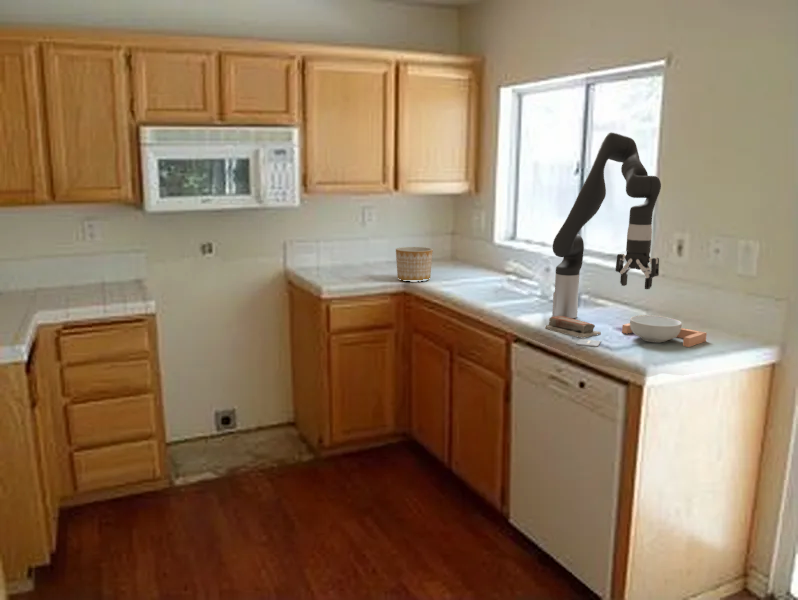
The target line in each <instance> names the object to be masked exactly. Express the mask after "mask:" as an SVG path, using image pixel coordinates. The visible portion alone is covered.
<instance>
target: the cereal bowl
mask: <svg viewBox="0 0 798 600" xmlns="http://www.w3.org/2000/svg"><path fill="white" fill-rule="evenodd" d="M629 323H630V327H631V330H632V331H633V332H632V333H633V334H634V335H635V336H637V337H638V338H639V337H640V338H641V339H642V340H643V341H644V342H648V343H658V344H659V343H665V342H667V341H669V340H673V339H675V338H678V337H677V336H678V334H679V333H680V331H681V328H682V325H683V324H682V321H680V320H678V319H675V318H672V317H667V316H660V315H652V314H651V315H650V314H649V315H647V314H643V315H639V314H638V315H634V316H631V317H630V318H629Z"/></svg>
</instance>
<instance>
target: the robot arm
mask: <svg viewBox="0 0 798 600" xmlns="http://www.w3.org/2000/svg"><path fill="white" fill-rule="evenodd" d="M608 160H610V161H614V162H616V163H621V168H620V170H621V175H622V176H623V178H624V180H625V183H626V184H625V192H626V193H625V194H626V195H627V196H628V197H630V198H633V199H645V200H644V201H643V203H641V204H637V205H633V206H631V207H630V209H629V218H628V227H627V235H626V247H625V252H626V254H624V253H618V254H617V256H616V263H615V272H617V273H619V274H620V281H619V283H620V284H621V286H623V287H625V286H627V285H628V273H629V271H631V270H635V269H636V270H637V271H639V270H640V271H641V272H642V273H643V274H644V277H645V280H644V290H650V289H651V288H652V285H653V278H654V277H658V276H659V274H660V271H659V270H660V258H659V257H651V256H650V254H651V250H652V249H651V248H652V237H653V227H652V226H653V213H654V209H655V206H656V202H657V199H658V197H659V195H660V192H661V189H662V182H661V180H660V178H659V177H658V176H657V175H649V173H648V171H647V169H646V168H645V166H644V165H643V163H642V162H641V159H640V154H639V150H638V147H637V144H636V141H635V140H634V139H633V138H632V137H629V136H626V135H623V134H620V133H617V132H613V131H612V132H611V131H610V132H608V133H607V134H606V135H605V137H604V138H603V140H602V142H601V144H600V147H599V149H598V152H597V154H596V156H595V159H594V162H593V164H592V167H591V169H590V171H589V172H588V175H587V177H586V179H585V181H584V183H583V184H582V187H581V188H580V191H579V193H578V195H577V197H576V199H575V201H574V204H573V206H572V207H571V209H570V211H569V213H568V216H567V217H566V219H565V221H564V222H563V224H562V226H561V228H560V229H559V230H558V232H557V233H556V235H555V237H554V239H553V242H552V252H553V254H554V255H555V256H556V257H558V258H562V261H561V262H560V263H558V265H556V267H555V278H554V279H555V280H554V292H553V294H552V310H551V311H552V315H551V317H555V316H564V317H568V318H572V319H576V318H577V317H578V310H579V309H578V308H579V307H578V305H579V290H580V289H579V288H580V286H579V285H580V271H581V268H582V266H583V259H584V252H585V251H584V250H585V243H584V239H583V237H582V235H580V234H579V232H580V231H581V229H582V228H583V227H584V226H585V225H586V224H587V223H588V222H590V220H591V219H592V218H593V217H594V216H595V215H596V214H598V211H599V210H600V208H601V206H602V204H603V203H604V200H605V198H606V195H607V188H606V181H605V167H606V164H607V162H608ZM625 261H626V263H625V264H624V262H625ZM649 263H650V265H651V267H650V265H649Z"/></svg>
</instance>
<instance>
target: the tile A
mask: <svg viewBox="0 0 798 600" xmlns="http://www.w3.org/2000/svg"><path fill="white" fill-rule="evenodd" d="M600 342H601V343H602V341H601V340H594V339H585V338H579V339H578V341H577V342H576V345H577V346H584V347H592V348H593V347H594V348H598V347H599V345H600V344H601V343H600Z"/></svg>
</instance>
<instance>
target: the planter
mask: <svg viewBox="0 0 798 600" xmlns="http://www.w3.org/2000/svg"><path fill="white" fill-rule="evenodd" d="M433 251H434V249H433V248H431V247H424V246H402V247H397V248H395V259H396V272H397V273H396V276H397V279H398V278H399V279H401V280H423V279H429V278H430V279H431V275H432V264H433V263H432V261H433V253H434V252H433ZM399 279H398V280H399ZM430 279H429V280H430Z"/></svg>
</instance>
